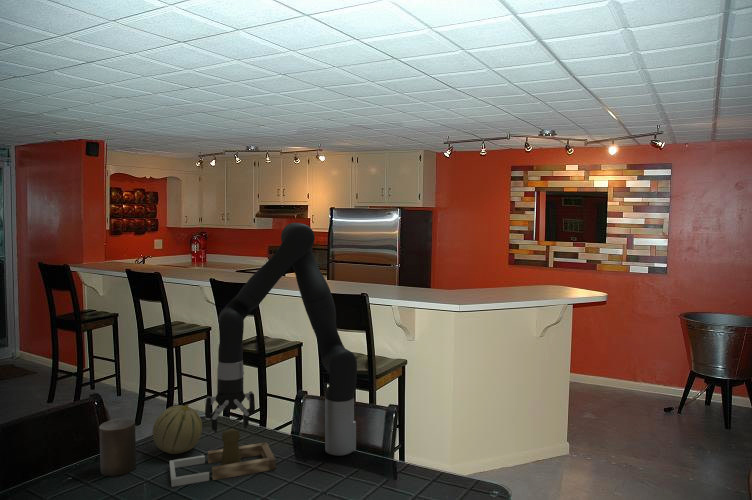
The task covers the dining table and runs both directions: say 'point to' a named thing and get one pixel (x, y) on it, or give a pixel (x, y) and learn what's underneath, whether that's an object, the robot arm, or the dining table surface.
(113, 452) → the pillar candle
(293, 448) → the dining table surface
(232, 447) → the olive gourd
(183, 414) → the cantaloupe
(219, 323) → the robot arm
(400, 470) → the dining table surface
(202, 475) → the grey u-shaped staple
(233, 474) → the oak channel
